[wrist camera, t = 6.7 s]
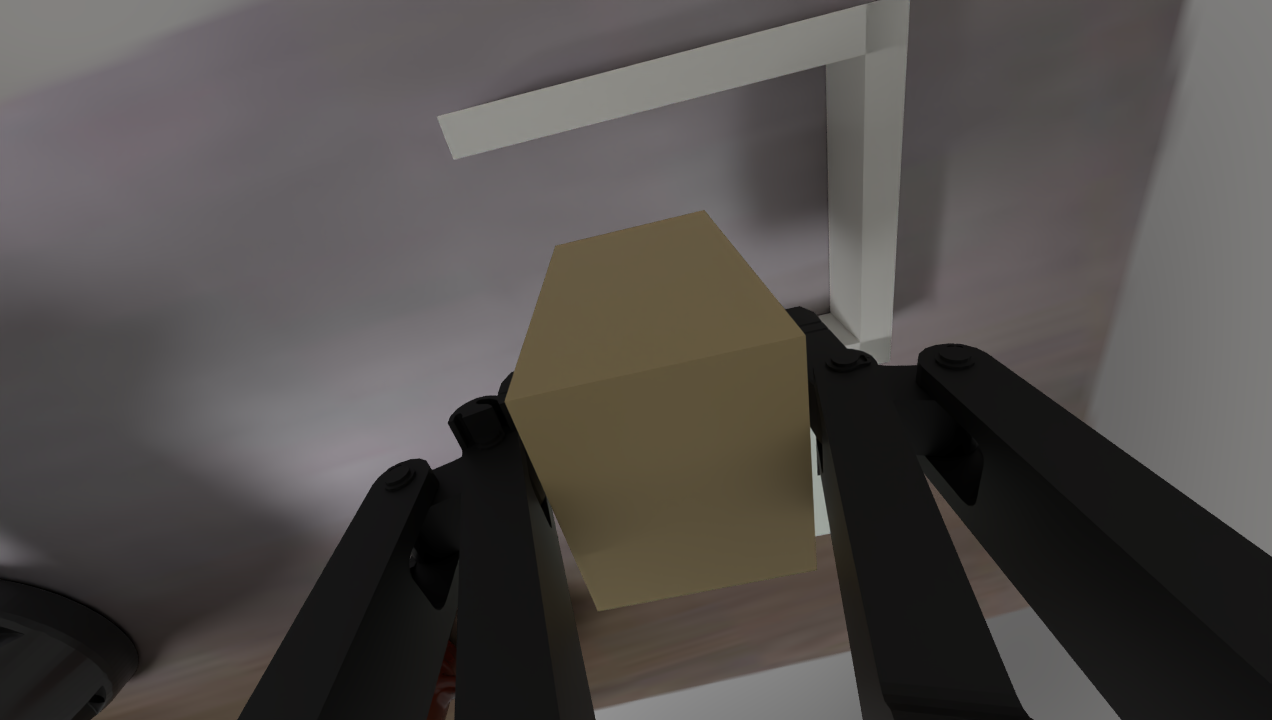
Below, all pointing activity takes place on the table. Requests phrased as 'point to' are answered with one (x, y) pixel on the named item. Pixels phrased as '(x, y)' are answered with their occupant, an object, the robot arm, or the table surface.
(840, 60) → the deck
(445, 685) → the mug
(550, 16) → the table surface
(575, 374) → the chute block
